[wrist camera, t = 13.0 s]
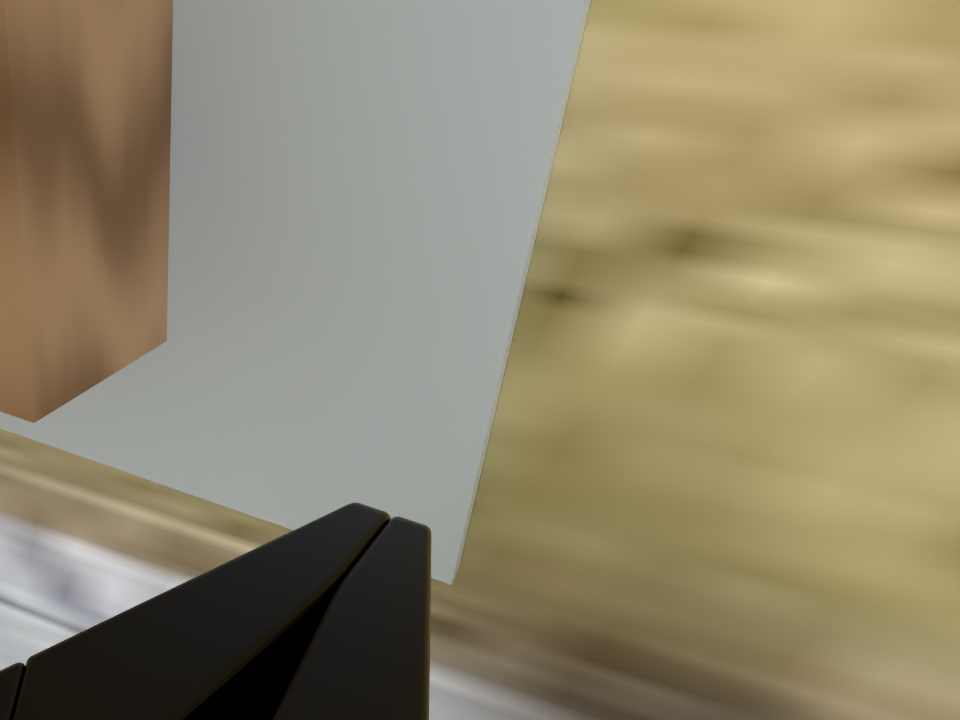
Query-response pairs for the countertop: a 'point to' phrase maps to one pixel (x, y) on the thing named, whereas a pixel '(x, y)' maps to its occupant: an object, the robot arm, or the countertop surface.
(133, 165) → the frame
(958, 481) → the countertop surface
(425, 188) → the board
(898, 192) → the countertop surface
